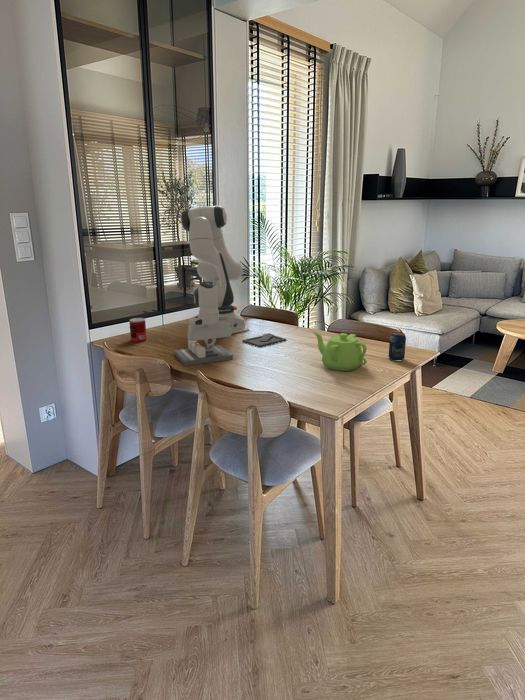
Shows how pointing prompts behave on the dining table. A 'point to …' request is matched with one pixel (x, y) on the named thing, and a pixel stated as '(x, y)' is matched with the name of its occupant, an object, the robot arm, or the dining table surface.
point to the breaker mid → (195, 347)
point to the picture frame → (264, 340)
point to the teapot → (342, 352)
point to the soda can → (397, 346)
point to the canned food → (138, 329)
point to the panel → (210, 356)
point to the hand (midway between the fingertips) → (210, 347)
